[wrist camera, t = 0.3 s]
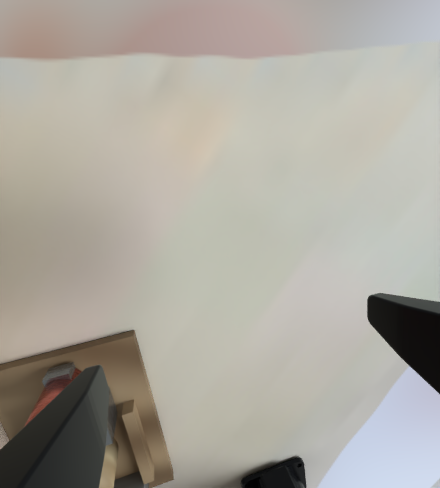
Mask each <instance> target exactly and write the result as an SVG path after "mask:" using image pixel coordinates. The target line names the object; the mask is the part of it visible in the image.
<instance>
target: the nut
mask: <svg viewBox="0 0 440 488" xmlns="http://www.w3.org/2000/svg"><path fill="white" fill-rule="evenodd" d="M118 450H119V446H118V443H117V441H116V440H115V438H114V439H113V444H110V445H107V446H106V449H105V456H104V462H103V468H102V473H101V479H100V485H99V488H114V481H115V473H116V465H117V458H118Z"/></svg>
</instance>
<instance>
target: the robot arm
mask: <svg viewBox="0 0 440 488" xmlns="http://www.w3.org/2000/svg"><path fill="white" fill-rule="evenodd" d="M367 317H368V320H369V322H370V324H371V325H372V326H373V327H374V328H375V330H376V331H377V332H378V333H379V334H380V335H381V336H382V337H383V338H384V339H385V341H386V342H387V343H388V344H389V345H390V346H391V347H392V348H393V349H394V351H395V352H396V353H397V354H398V355H399V356H400V357H401V358H402V359H403V360H404V361H405V362H406V363H407V364H408V365H409V366H410V367H411V368H412V369H414V370H415V371H416V372H417V373H418V374H419V375H420V376H421V377H422V378H423V379H424V380H425V381H426V382H427V383H428V384H430V385H431V386H432V387H433V388H434V389H435V390H436V391H437V392H438V393H439V394H440V302H436V301H429V300H423V299H416V298H410V297H403V296H397V295H390V294H384V293H377V294H374V295H370V296H369V297H368V300H367ZM108 408H109V387H108V384H107V380H106V377H105V373H104V370H103V367H102V366H101V365H95V366H91V367H87V368H85V369H84V370H83V371H82V372H81V373H80V374H79V375H78V376H77V377H76V378H75V379H74V380H73V381H72V382H71V383H70V384H69V385H67V386H66V387H65V388H64V389H63V390H62V391H61V392H60V393H59V394H58V395H57V396H56V397H55V398H54V399H53V400H52V401H51V402H50V403H49V404H48V405H47V406H46V407H44V408H43V409H42V410H41V411H40V412H39V413H38V414H37V415H36V416H35V417H34V418H33V419H32V420H31V421H30V422H29V423H28V424H27V425H26V426H25V427H24V428H23V429H21V430H20V431H19V432H18V433H17V434H16V435H15V436H14V437H13V438H12V439H11V440H10V441H9V442H8V443H7V444H6V445H5V446H4V447H3V448H2V449H1V450H0V488H99V485H100V479H101V473H102V468H103V462H104V456H105V449H106V437H107V423H108ZM241 486H242V488H306V479H305V469H304V462H303V460H302V458H299V457H298V458H295V459H293V460H290V461H287V462H285V463H282V464H279V465H277V466H274V467H272V468H269V469H266V470H264V471H261V472H258V473H256V474H253V475H251V476H248V477H245V478H243V479H242V481H241Z"/></svg>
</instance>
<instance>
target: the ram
mask: <svg viewBox="0 0 440 488" xmlns="http://www.w3.org/2000/svg"><path fill="white" fill-rule="evenodd" d="M81 372H82V371H81V370H79V369H77V368H76V367H75V365H74V362H71V363H68V364H64V365H60V366H57V367H53V368H49V369H48V371H47V373H46V375H45V376H44V378H43V380H42V382H43V385H44V389H43V391H42V393H41V395H40V397H39V399H38V401H37V402H36V404H35V406H34V408H33V410H32V412H31V414H30V416H29V418H28V420H27V422H26V424H25V426H26V425H27V424H28V423H29V422H30V421H31V420H32V419H33V418H34V417H35V416H36V415H37V414H38V413H39V412H40V411H41V410H42V409H43V408H44V407H46V406H47V405H48V404H49V403H50V402H51V401H52V400H53V399H54V398H55V397H56V396H57V395H58V394H59V393H60V392H61V391H62V390H63V389H64V388H65V387H66V386H67V385H69V384H70V383H71V382H72V381H73V380H74V379H75V378H76V377H77V376H78V375H79V374H80V373H81ZM108 387H109V386H108ZM116 419H117V409H116V405H115V402H114V399H113V396H112V393H111V390H110V387H109V408H108V423H107V437H106V446H107V445H110V444H113V439H114V432H115V426H116ZM25 426H24V427H25Z"/></svg>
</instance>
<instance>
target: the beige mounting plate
mask: <svg viewBox="0 0 440 488" xmlns="http://www.w3.org/2000/svg"><path fill="white" fill-rule="evenodd" d="M71 362H74V365H75V367H76V368H77V369H79V370H81V371H83V370H84V369H85V368H87V367H91V366H95V365H101V366H102V367H103V370H104V373H105V377H106V380H107V384H108V386H109V387H110V390H111V393H112V396H113V399H114V402H115V405H116V409H117V419H116V426H115V432H114V438H115V440H116V441H117V443H118V446H119V450H118V458H117V465H116V473H115V481H114V488H152V487H155V486H157V485H160V484H163V483H166V482H168V481H171V480H174V478H173V469H172V465H171V461H170V458H169V454H168V450H167V447H166V443H165V440H164V436H163V432H162V429H161V425H160V421H159V418H158V414H157V411H156V407H155V403H154V400H153V396H152V393H151V389H150V385H149V382H148V378H147V374H146V371H145V367H144V364H143V360H142V356H141V353H140V349H139V345H138V342H137V338H136V335H135V331H134V330H132V331H129V332H125V333H121V334H117V335H113V336H109V337H105V338H102V339H98V340H94V341H90V342H86V343H82V344H78V345H75V346H71V347H67V348H63V349H59V350H55V351H51V352H48V353H44V354H40V355H36V356H32V357H28V358H24V359H21V360H17V361H13V362H9V363H5V364H1V365H0V421H1V423H2V425H3V428H4V430H5V432H6V434H7V436H8V438H9V440H11V439H12V438H13V437H14V436H15V435H16V434H17V433H18V432H19V431H20V430H21V429H23V428H24V426H25V424H26V422H27V420H28V418H29V416H30V414H31V412H32V410H33V408H34V406H35V404H36V402H37V401H38V399H39V397H40V395H41V393H42V391H43V389H44V385H43V382H42V380H43V378H44V376H45V375H46V373H47V371H48V369H49V368H53V367H57V366H60V365H64V364H68V363H71Z"/></svg>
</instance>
